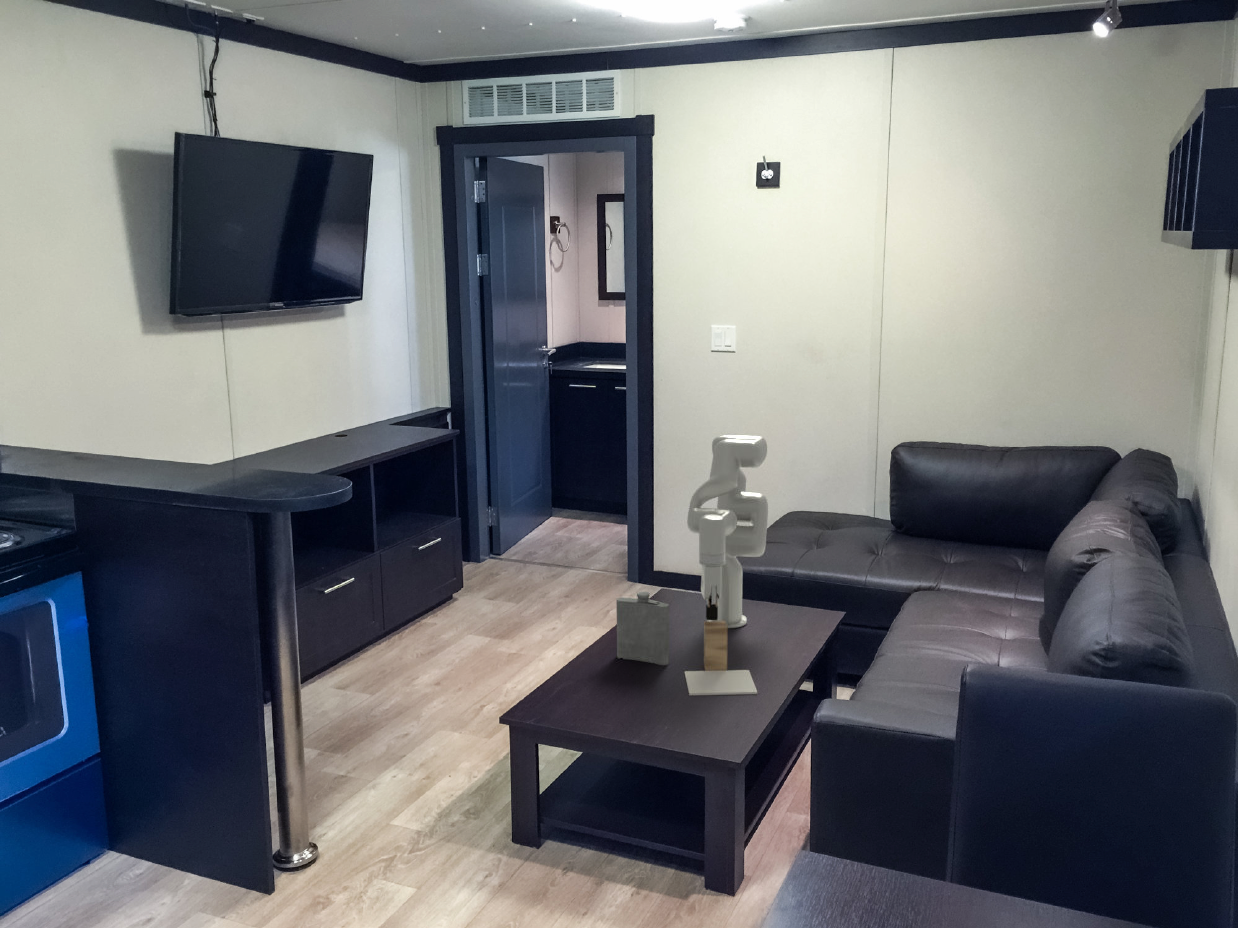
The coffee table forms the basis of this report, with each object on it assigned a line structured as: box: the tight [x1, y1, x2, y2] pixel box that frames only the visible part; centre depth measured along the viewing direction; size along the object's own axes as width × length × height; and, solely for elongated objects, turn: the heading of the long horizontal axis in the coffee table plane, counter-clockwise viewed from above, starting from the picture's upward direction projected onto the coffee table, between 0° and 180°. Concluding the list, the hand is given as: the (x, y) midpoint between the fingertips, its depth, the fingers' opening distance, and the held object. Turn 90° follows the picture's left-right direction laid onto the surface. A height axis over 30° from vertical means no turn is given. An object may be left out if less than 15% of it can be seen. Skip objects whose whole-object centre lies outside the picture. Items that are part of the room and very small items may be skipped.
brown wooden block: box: [703, 620, 728, 671], centre depth 297 cm, size 5×6×13 cm
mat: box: [684, 669, 758, 696], centre depth 287 cm, size 15×18×1 cm
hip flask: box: [615, 591, 670, 666], centre depth 303 cm, size 16×4×20 cm, turn 66°
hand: (711, 618), depth 305 cm, fingers closed
